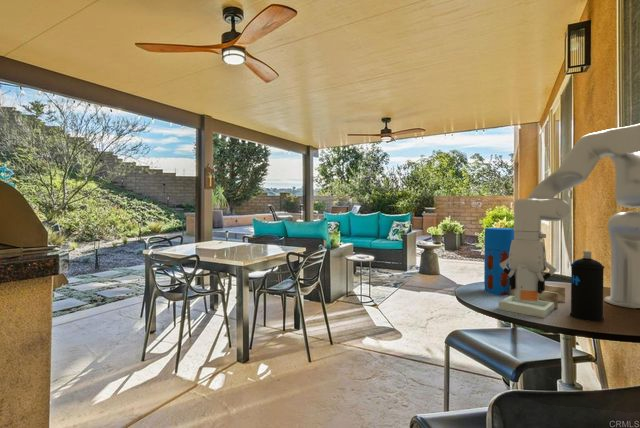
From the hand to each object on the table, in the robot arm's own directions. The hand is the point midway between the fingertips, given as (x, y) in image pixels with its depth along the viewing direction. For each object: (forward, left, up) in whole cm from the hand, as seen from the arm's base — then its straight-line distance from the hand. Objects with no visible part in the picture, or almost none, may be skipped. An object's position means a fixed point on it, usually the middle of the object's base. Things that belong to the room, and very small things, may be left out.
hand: (526, 290), depth 113 cm
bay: (0, -14, -6) cm, 15 cm away
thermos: (+14, -18, -6) cm, 24 cm away
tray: (0, 0, -6) cm, 6 cm away
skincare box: (0, 0, -4) cm, 4 cm away
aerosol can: (-15, -4, -6) cm, 17 cm away
